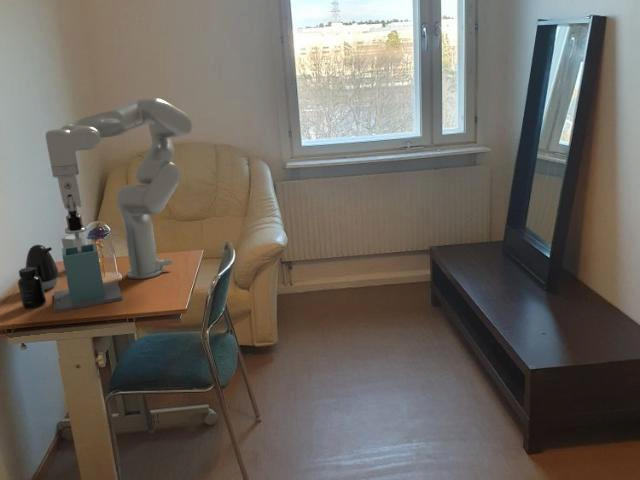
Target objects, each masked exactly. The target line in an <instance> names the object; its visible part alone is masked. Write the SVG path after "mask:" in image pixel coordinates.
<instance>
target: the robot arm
mask: <svg viewBox="0 0 640 480" xmlns="http://www.w3.org/2000/svg"><path fill="white" fill-rule="evenodd" d="M143 125H148V129H149V133H150V137H151V146H150V148H149V150H148V152H147V154H146V155H145V156H144V158H143V160H142V161H141V163H140V165H139V166H138V167H137V170H136V173H135V180H136V182H137V183H138V184H126V185H124V186H122V187H121V188H120V189H119V190H118V191H117V195H116V204H117V208H118V210H119V212H120V215H121V219H122V222H123V223H122V224H123V229H124V235H125V242H126V247H127V254H128V255H127V257H128V262H129V268H130V269H128V270H127V271H126V276H127V278H129V279H133V280H141V279H149V278H153V277H156V276H158V275H161V274H162V273H164V271H165V270H164V266H170V265H173V262H172V259H171V258H170V259H167V258H163V259H159V257H158V254H157V245H156V240H155V233H154V226H153V221H152V218H151V216H153V215H157V214H159V213H161V212H162V211H163V210H164V208H165V207H166V205H167V204H168V202H169V200H170V199H171V197H172V195H173V194H174V192H175V191H176V188H177V187H178V186H179V183H180V178H181V174H180V169H179V167H178V166H177V164H176V163H174V162H172V161H173V159H174V157H175V147H174V144H173V140H172V138H173V139H174V138H177V139H180V138H181V139H182V138H186V137H187V136H189V135H190V134H191V132H192V130H193V123H192V120H191V118H190V116H189V115H187V114H186V112H184V111H182V110H180V109H179V108H178V107H175V106H174V105H172V104H171V103H169V102H167V101H165V100H163V99H161V98H157V97H150V98H148V97H147V98H146V97H141V98H136V99H134V100H132V101H129V102H126V103H124V104H122V105H120V106H117V107H114V108H111V109H110V110H105V111H102V112H99V113H96V114H93V115H92V114H91V115H90V116H86V117H82V118H79V119H76V120H74V121H72V122H69V123H67V124H65V125H63V126H62V127H60V128H58V129H57V128H56V129H51V130H48V131H47V132H46V133H45V140H46V145H47V146H46V147H47V150H48V157H49V162H50V167H51V173H52V177H53V178H57V181H58V182H57V183H58V188H59V191H60V196H61V200H62V205H63V207H64V209H65V210H67V216H68V215H69V218H68V220H69V226H70V231H76V230H81V224H80V218H79V217H78V214H80V213H79V212H78V207H79V208H82V200H81V195H80V190H79V189H80V188H79V184H78V179H77V175H79V174H80V171H79V170H80V169H79V165H78V159H77V154H76V152H77V151H80V152H81V151H91V150H93V149H96V148H97V147H98V146H99V145H100V143H101V139H102V138H111V137H112V138H113V137H116V136H117V137H118V136H122V135H124V134H126V133H128V132H130V131H133V130H135V129H137V128H140V127H141V126H143ZM150 215H151V216H150ZM76 216H77V217H76Z"/></svg>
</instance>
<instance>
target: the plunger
mask: <svg viewBox="0 0 640 480" xmlns="http://www.w3.org/2000/svg"><path fill="white" fill-rule="evenodd" d="M76 217H77V216H76ZM78 217H79V218H80V224H81V230H76V231H70V226H69V220H68V218H69V215H68V214H67V215H66V216H65V219H66V224H67V227H66V228H65V229H64V233H65V234H67V235H68V234H69V235H72V234H74V236H75V239H76V244H77V250H78V254H79V253H82V249H81V244H80V238H79V237H80V235H79V234H81V233H83V232H86V231H87V230H88V228H87V226H86V225H83V219H82V214H80V213H79V214H78Z"/></svg>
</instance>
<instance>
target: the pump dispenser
mask: <svg viewBox="0 0 640 480" xmlns="http://www.w3.org/2000/svg"><path fill="white" fill-rule="evenodd" d="M52 250H53V248H52V247H51V246H49V247H47V248H46V246H44V245H42V244H34V245H32V246H31V247H30V248H29V250H28V252H27V255H26V259H25V268H28V267H34V268H35V269H36V272H37V274H36V275H38V276H40V277H41V280H42V285H43V289H44V291H46V290H50V289H51V288H53V287H55V286H56V285H57V283H58V279H59V276H60V274H59V270H58V267H57V265H56V262H55V260H54V258H53V256H52V254H51V253H50V251H52Z"/></svg>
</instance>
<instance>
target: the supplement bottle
mask: <svg viewBox="0 0 640 480" xmlns="http://www.w3.org/2000/svg"><path fill="white" fill-rule="evenodd" d="M18 274H19V279H18V281H17V286H18V290H19V295H20V298H21V302H22V303H21V304H22V307H23V308H24V309H28V310H30V309H31V310H32V309H37V308H40V307H42V306H44V305H46V302H47V299H46V296H45V290H44V289H43V285H42V280H41V277H40V276H38V275H36V274H37V272H36V269H35V268H34V267H28V268H26V267H23V268H21V269H20V270H18Z"/></svg>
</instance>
